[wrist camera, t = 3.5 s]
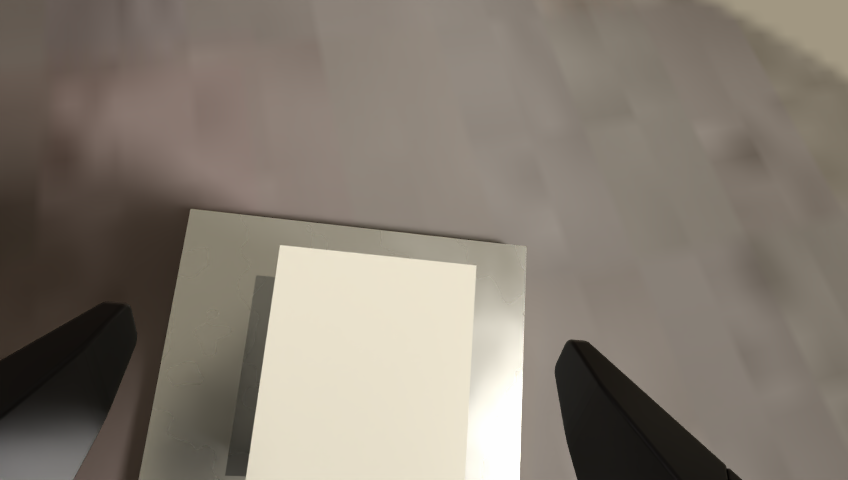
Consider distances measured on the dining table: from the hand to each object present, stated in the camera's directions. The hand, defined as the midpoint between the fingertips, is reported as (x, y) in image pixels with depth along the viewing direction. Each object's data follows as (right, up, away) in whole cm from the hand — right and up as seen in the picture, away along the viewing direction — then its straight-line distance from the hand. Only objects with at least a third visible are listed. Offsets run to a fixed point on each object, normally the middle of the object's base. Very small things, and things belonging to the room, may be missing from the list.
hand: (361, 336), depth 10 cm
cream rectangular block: (-1, -2, +6) cm, 6 cm away
